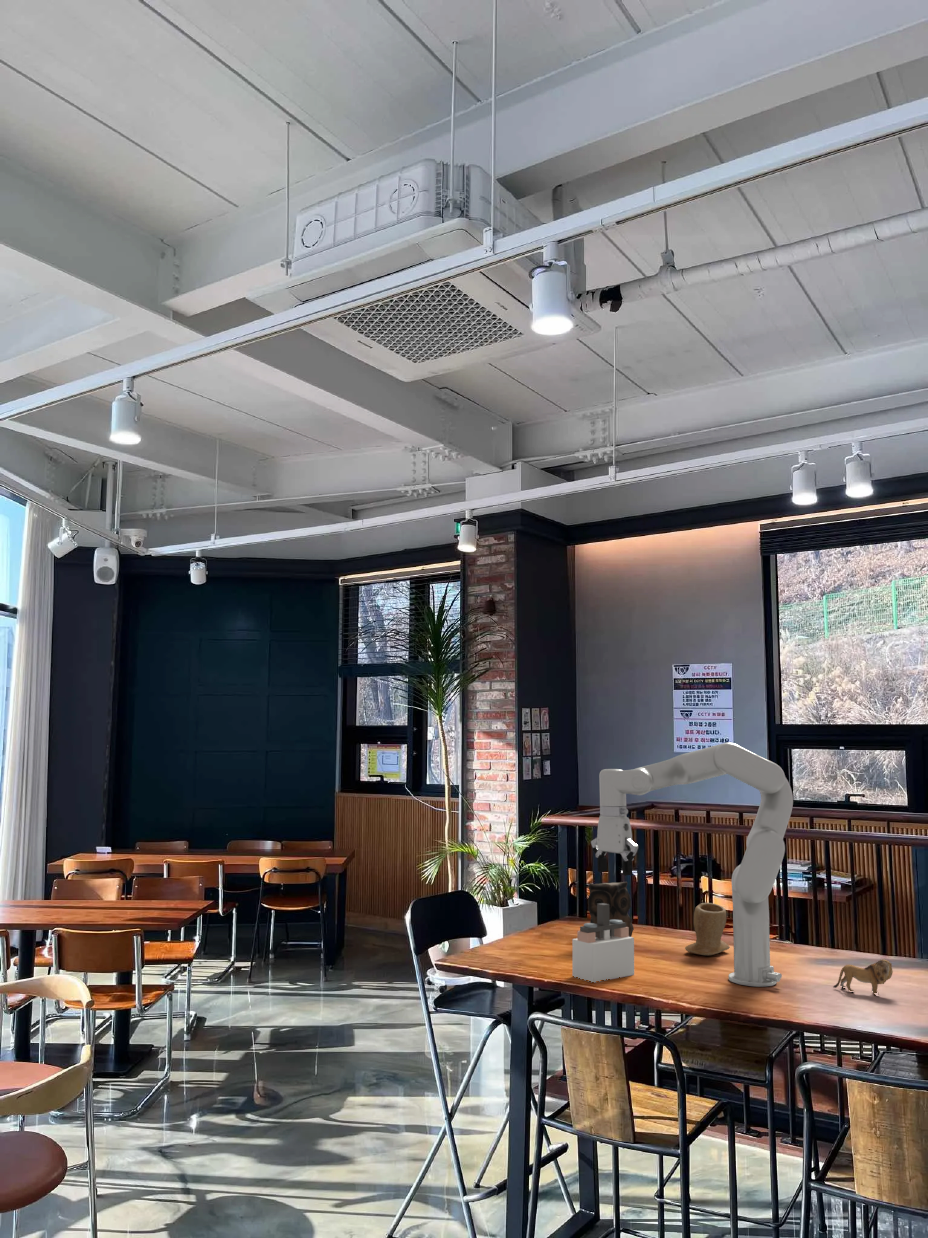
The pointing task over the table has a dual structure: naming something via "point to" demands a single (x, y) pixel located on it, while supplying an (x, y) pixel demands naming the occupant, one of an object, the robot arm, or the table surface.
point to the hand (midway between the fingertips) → (614, 873)
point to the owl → (611, 902)
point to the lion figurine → (867, 974)
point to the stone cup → (708, 929)
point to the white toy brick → (603, 955)
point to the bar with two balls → (602, 922)
